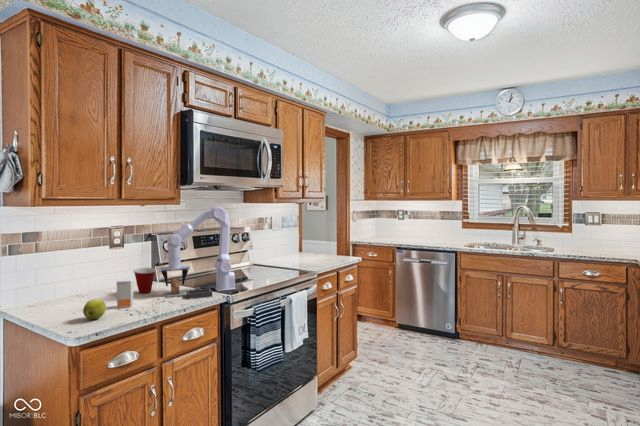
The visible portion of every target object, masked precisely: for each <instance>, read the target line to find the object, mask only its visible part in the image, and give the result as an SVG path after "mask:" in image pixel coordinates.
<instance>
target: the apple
mask: <svg viewBox="0 0 640 426" xmlns="http://www.w3.org/2000/svg"><path fill="white" fill-rule="evenodd" d="M106 311H107V304H106V302H105V301H104V300H103V299H102V298H101V299H100V298H93V299H90V300H89V301H87V302H86V303H85V305H84V306H83V309H82V313H83V316H84V317H85V318H86V319H89V320H97V319H99V318H101V317H102V316H103V315H104V314H105V312H106Z"/></svg>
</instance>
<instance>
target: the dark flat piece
mask: <svg viewBox="0 0 640 426" xmlns="http://www.w3.org/2000/svg"><path fill="white" fill-rule="evenodd" d="M185 294H186V296H185V297H186V298H187V299H188V300H192V299H201V298H211V297H213V290H212V289H211V288H201V287H199V286H198V287H195V288H194V289H193V290H191V289H190V290H186V291H185Z"/></svg>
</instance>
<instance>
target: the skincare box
mask: <svg viewBox="0 0 640 426" xmlns="http://www.w3.org/2000/svg"><path fill="white" fill-rule="evenodd" d="M133 306H134V279H133V278H130V279H127V278H126V279H118V280H117V281H116V308H117V309H119V308H121V309H122V308H123V309H124V308H132V307H133Z"/></svg>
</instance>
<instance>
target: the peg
mask: <svg viewBox="0 0 640 426" xmlns="http://www.w3.org/2000/svg"><path fill="white" fill-rule="evenodd" d="M170 292H171V294H172V295H177V294H180V277H178V276H173V277H170Z"/></svg>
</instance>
